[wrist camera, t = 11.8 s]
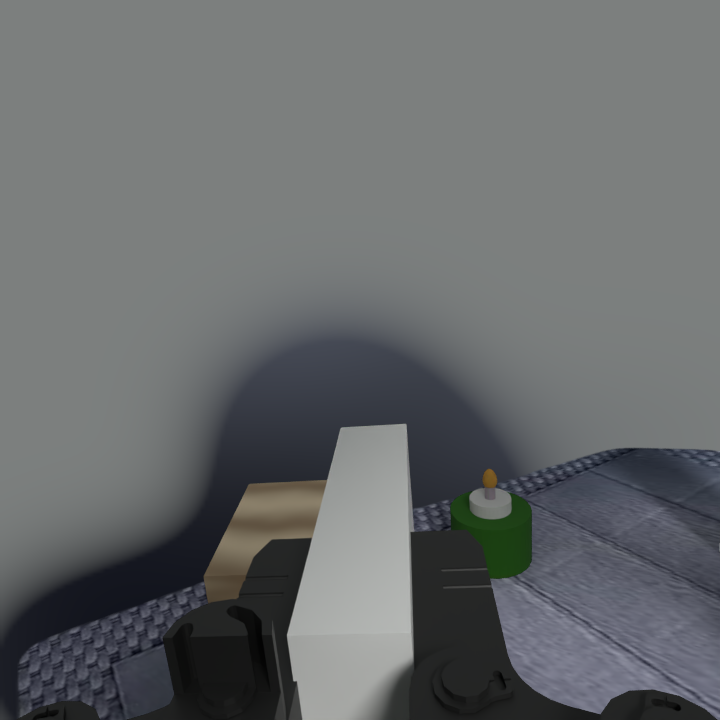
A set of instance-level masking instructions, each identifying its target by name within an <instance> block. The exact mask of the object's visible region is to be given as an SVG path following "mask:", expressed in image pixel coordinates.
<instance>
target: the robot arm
mask: <svg viewBox="0 0 720 720" xmlns="http://www.w3.org/2000/svg"><path fill="white" fill-rule="evenodd" d="M245 578H246V579H245V581H244V582H243V584H242V586H241V589H240V591H239V597H238V598H237V599H228V600H222V601H216V602H211V603H209V604H206V605H204V606H201V607H199V608H196V609H194V610H192V611H190V612H189V613H187V614H186V615H185V616H183V617H182V618H180V619H179V620H177V621H176V622H175V623H174V624H173V625H172V626H171V628H170V629H169V630H168V631H167V633H166V634H165V635H164V636H163V643H164V647H165V652H166V657H167V661H168V666H169V671H170V676H171V680H172V685H173V690H174V696H173V699H172V701H171V703H170V704H169V705H167V706H165V707H163V708H161V709H158V710H156V711H153V712H150V713H148V714H145V715H141V716H138V717H134V718H131V719H127V720H717V719H716V718H715V717H714V716H712V715H711V714H710V713H709V712H708V711H707V710H705V709H704V708H702V707H700V706H698V705H696V704H694V703H692V702H690V701H688V700H686V699H684V698H682V697H680V696H677V695H673V694H669V693H665V692H661V691H656V690H635V691H628V692H626V693H624V694H621V695H619V696H617V697H615V698H613V699H611V700H610V702H609V703H608V704H607V706H606V707H605V709H604V710H603V712H602V713H601V715H600V714H597V713H593V712H589V711H585V710H581V709H577V708H574V707H570V706H567V705H564V704H561V703H558V702H556V701H553V700H550V699H548V698H547V697H545V696H543V695H541V694H540V693H538V692H536V691H534V690H533V689H532V688H531V687H530V686H529V685H527V684H526V683H525V682H524V681H523V680H522V679H521V678H520V677H519V675H518V674H517V673H516V671H515V670H514V669H513V667H512V664H511V662H510V659H509V657H508V654H507V649H506V645H505V641H504V637H503V632H502V628H501V624H500V619H499V615H498V611H497V607H496V602H495V598H494V594H493V589H492V587H491V581H490V576H489V572H488V570H487V564H486V559H485V555H484V551H483V546H482V545H481V544H480V543H479V542H478V541H477V540H476V539H475V538H474V537H473V536H472V535H471V534H470V533H469V532H468V531H467V530H448V531H423V532H414V525H413V511H412V498H411V484H410V469H409V456H408V441H407V427H406V424H398V425H379V426H362V427H344V428H341V430H340V433H339V437H338V441H337V445H336V449H335V453H334V457H333V460H332V464H331V469H330V472H329V476H328V480H327V483H326V487H325V491H324V495H323V499H322V503H321V507H320V510H319V514H318V518H317V522H316V526H315V530H314V533H313V537H312V538H296V539H272V540H271V541H270V542H269V543H267V544H266V545H265V546H264V547H263V548H262V549H261V550H260V551H259V552H258V553H257V554H256V555H255V556H254V557H253V560H252V562H251V564H250V567H249V569H248V572H247V574H246V577H245ZM17 720H100V718H99V716H98V714H97V712H96V709H95V708H93V707H91V706H89V705H87V704H85V703H83V702H77V701H61V702H57V703H54V704H50V705H46V706H43V707H39V708H37V709H35V710H34V711H32V712H30V713H28V714H26V715H24V716H22V717H20V718H18V719H17Z"/></svg>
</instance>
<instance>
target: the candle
mask: <svg viewBox="0 0 720 720" xmlns="http://www.w3.org/2000/svg"><path fill="white" fill-rule="evenodd" d="M483 484H484V488H481V489H477V490H475V491H471V492H468V493H465V494H462V495H460V496H458V497H457V498H456V499H455V500H454V501H453V502H452V504H451V507H450V510H451V530H467V531H468V532H469V533H470V534H471V535H472V536H473V537H474V538H475V539H476V540H477V541H478V542H479V543H480V544H481V545H482V546H483V551H484V555H485V559H486V564H487V570H488V572H489V576H490V578H491V579H501V578H508V577H512V576H515V575H518V574H520V573H522V572H523V571H525V570H526V569H527V568H528V567H529V566H530V563H531V560H532V510H531V507H530V505H529V504H528V502H526V501H525V500H524V499H523V498H521V497H519V496H517V495H515V494H512V493H509V492H506V491H504V490H501V489H497V488H495V486H496V485H497V477H496V475H495V473H494V471H493V470H491V469H487V470H486V471H485V473H484V475H483Z"/></svg>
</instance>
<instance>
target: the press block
mask: <svg viewBox="0 0 720 720" xmlns="http://www.w3.org/2000/svg"><path fill="white" fill-rule="evenodd" d="M326 483H327V480H319V481H299V482H280V483H261V484H260V483H259V484H249V485H248V487H247V489H246V492H245V494H244V496H243V498H242V500H241V502H240V504H239V506H238V508H237V510H236V512H235V514H234V516H233V518H232V520H231V522H230V524H229V526H228V528H227V530H226V532H225V534H224V536H223V538H222V540H221V542H220V544H219V546H218V548H217V550H216V552H215V554H214V556H213V559H212V560H211V563H210V565H209V567H208V569H207V571H206V573H205V575H204V581H205V587H206V593H207V599H208V604H209V603H211V602H216V601H222V600H228V599H237V598H238V597H239V591H240V589H241V586H242V584H243V582H244V581H245V579H246V578H245V577H246V574H247V572H248V569H249V567H250V564H251V562H252V560H253V557H254V556H255V555H256V554H257V553H258V552H259V551H260V550H261V549H262V548H263V547H264V546H265V545H266V544H267V543H269V542H270V541H271V540H272V539H296V538H312V537H313V533H314V530H315V526H316V522H317V518H318V514H319V510H320V507H321V503H322V499H323V495H324V491H325V487H326Z"/></svg>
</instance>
